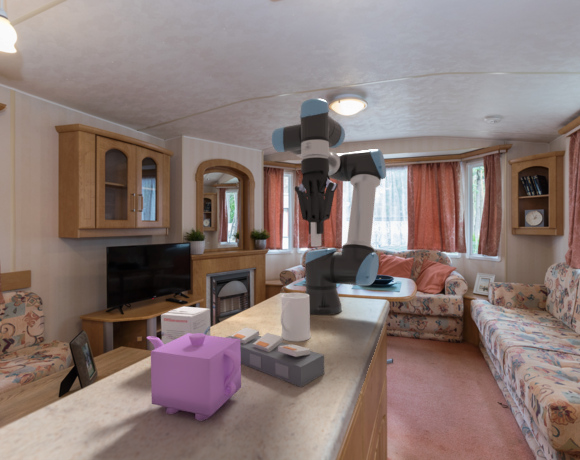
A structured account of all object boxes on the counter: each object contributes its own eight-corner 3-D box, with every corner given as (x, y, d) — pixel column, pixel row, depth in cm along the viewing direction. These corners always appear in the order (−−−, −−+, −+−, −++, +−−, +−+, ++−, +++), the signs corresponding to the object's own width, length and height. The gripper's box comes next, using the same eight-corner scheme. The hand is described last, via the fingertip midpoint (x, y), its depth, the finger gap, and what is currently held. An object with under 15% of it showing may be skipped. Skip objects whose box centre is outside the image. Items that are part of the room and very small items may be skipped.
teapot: (253, 398, 62) (252, 330, 61) (224, 429, 52) (222, 350, 52) (166, 381, 68) (165, 321, 68) (126, 407, 59) (125, 337, 59)
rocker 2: (268, 336, 80) (267, 332, 80) (283, 340, 77) (282, 336, 77) (253, 347, 77) (252, 343, 76) (268, 352, 73) (267, 348, 73)
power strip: (230, 341, 92) (230, 327, 92) (324, 373, 71) (324, 354, 71) (206, 350, 86) (205, 334, 86) (300, 387, 65) (300, 367, 65)
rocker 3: (292, 348, 75) (293, 343, 75) (310, 354, 72) (310, 348, 72) (277, 351, 71) (278, 345, 71) (295, 356, 68) (296, 350, 68)
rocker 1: (246, 330, 86) (245, 326, 85) (259, 334, 82) (258, 330, 82) (231, 339, 82) (230, 335, 82) (244, 343, 79) (243, 339, 78)
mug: (292, 347, 87) (292, 302, 87) (267, 341, 92) (267, 298, 92) (316, 335, 96) (315, 294, 96) (292, 330, 102) (292, 291, 101)
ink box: (212, 353, 84) (211, 307, 84) (191, 367, 76) (190, 316, 76) (183, 350, 86) (182, 305, 86) (160, 362, 78) (160, 313, 78)
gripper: (287, 160, 91) (289, 246, 91) (327, 153, 82) (328, 247, 82) (304, 164, 96) (305, 245, 97) (343, 157, 88) (344, 246, 88)
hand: (316, 246), depth 90 cm, fingers closed
